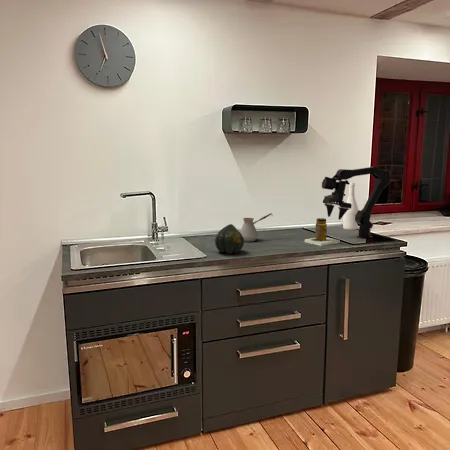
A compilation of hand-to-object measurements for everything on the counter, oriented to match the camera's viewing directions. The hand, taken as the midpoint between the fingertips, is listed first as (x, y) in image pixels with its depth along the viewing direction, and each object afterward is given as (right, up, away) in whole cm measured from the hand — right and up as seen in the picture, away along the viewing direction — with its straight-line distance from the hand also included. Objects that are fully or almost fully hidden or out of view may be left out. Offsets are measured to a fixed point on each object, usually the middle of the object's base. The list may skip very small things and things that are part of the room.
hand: (333, 218), depth 252 cm
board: (-8, -14, -7) cm, 18 cm away
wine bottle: (+19, -7, +34) cm, 40 cm away
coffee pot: (-44, -13, +4) cm, 46 cm away
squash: (-60, -18, -27) cm, 69 cm away
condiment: (-10, -13, -8) cm, 18 cm away
